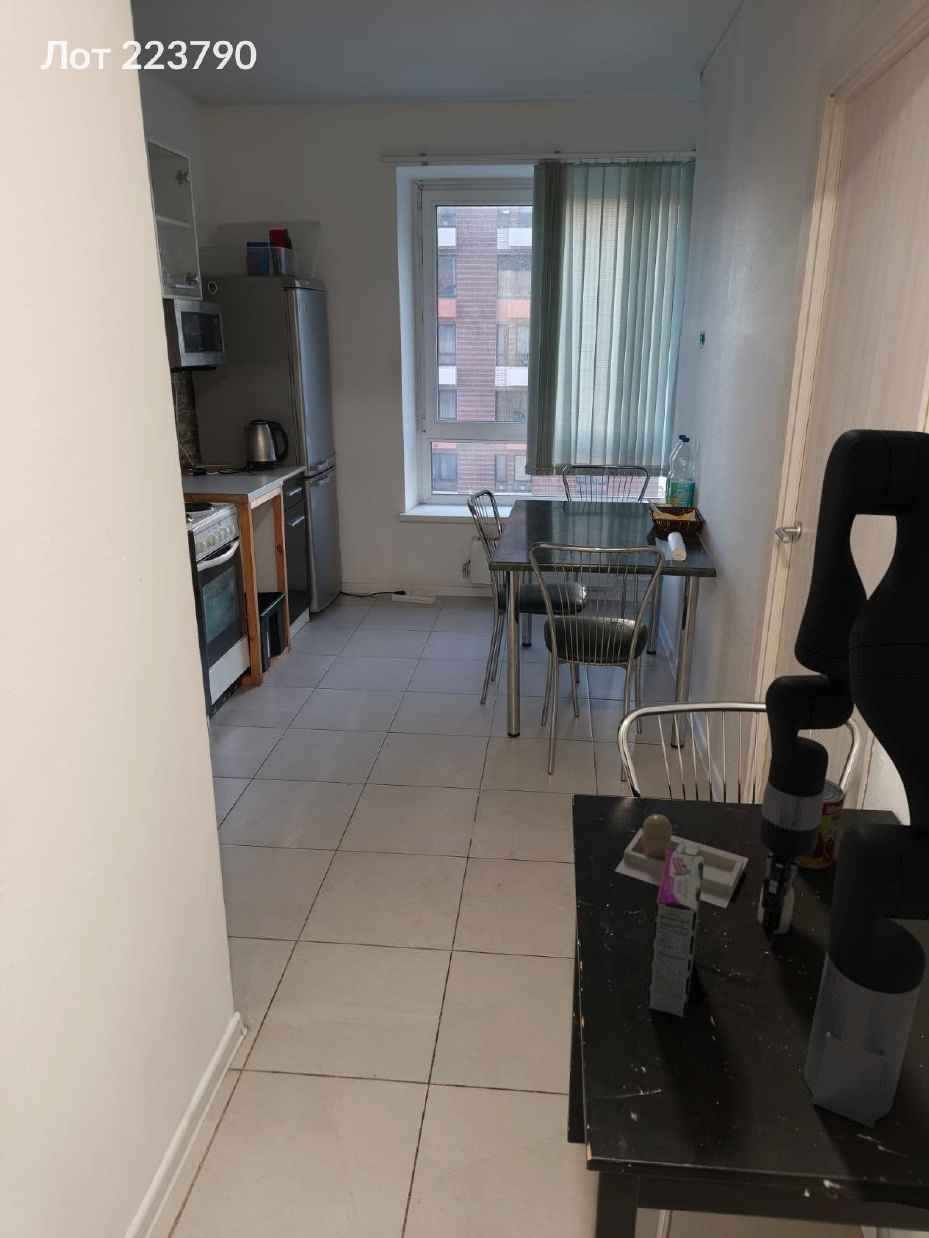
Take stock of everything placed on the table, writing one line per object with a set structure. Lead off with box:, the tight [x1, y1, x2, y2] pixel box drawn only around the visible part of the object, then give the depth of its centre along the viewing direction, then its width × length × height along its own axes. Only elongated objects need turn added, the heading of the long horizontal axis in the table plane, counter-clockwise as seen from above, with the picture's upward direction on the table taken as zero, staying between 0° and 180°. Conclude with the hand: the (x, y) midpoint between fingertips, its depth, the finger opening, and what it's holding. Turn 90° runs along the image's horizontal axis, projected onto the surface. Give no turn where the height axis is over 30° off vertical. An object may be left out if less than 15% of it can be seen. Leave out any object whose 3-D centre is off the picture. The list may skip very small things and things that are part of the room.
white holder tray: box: [614, 827, 749, 909], centre depth 134 cm, size 14×17×2 cm
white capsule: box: [757, 883, 796, 935], centre depth 121 cm, size 4×4×7 cm
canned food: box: [798, 779, 845, 870], centre depth 136 cm, size 8×8×12 cm
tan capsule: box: [641, 813, 673, 862], centre depth 135 cm, size 4×4×7 cm
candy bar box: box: [647, 850, 704, 1018], centre depth 108 cm, size 11×5×16 cm, turn 161°
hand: (774, 916), depth 122 cm, fingers closed on white capsule, 4 cm apart
